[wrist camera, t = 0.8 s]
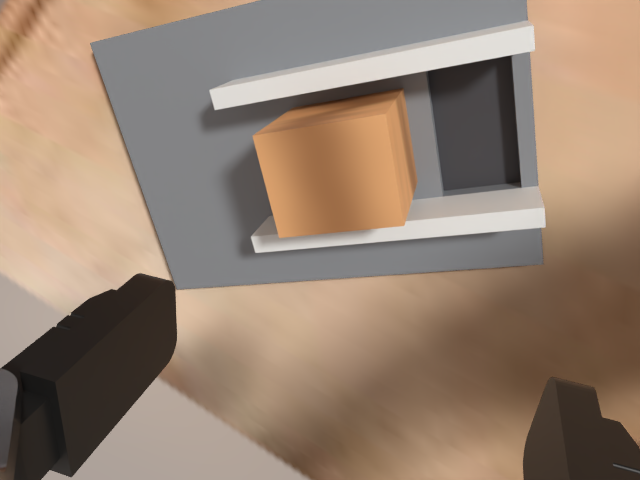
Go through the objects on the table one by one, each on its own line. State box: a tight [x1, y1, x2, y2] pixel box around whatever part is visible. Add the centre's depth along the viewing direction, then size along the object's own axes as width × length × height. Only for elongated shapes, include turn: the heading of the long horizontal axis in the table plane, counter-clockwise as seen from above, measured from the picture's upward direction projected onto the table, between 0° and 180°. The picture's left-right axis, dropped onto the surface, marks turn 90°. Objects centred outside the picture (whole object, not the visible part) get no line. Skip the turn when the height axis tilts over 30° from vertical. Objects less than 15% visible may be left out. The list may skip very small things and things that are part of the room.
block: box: [253, 88, 418, 238], centre depth 27 cm, size 6×5×6 cm
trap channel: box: [90, 0, 546, 289], centre depth 29 cm, size 23×16×4 cm
